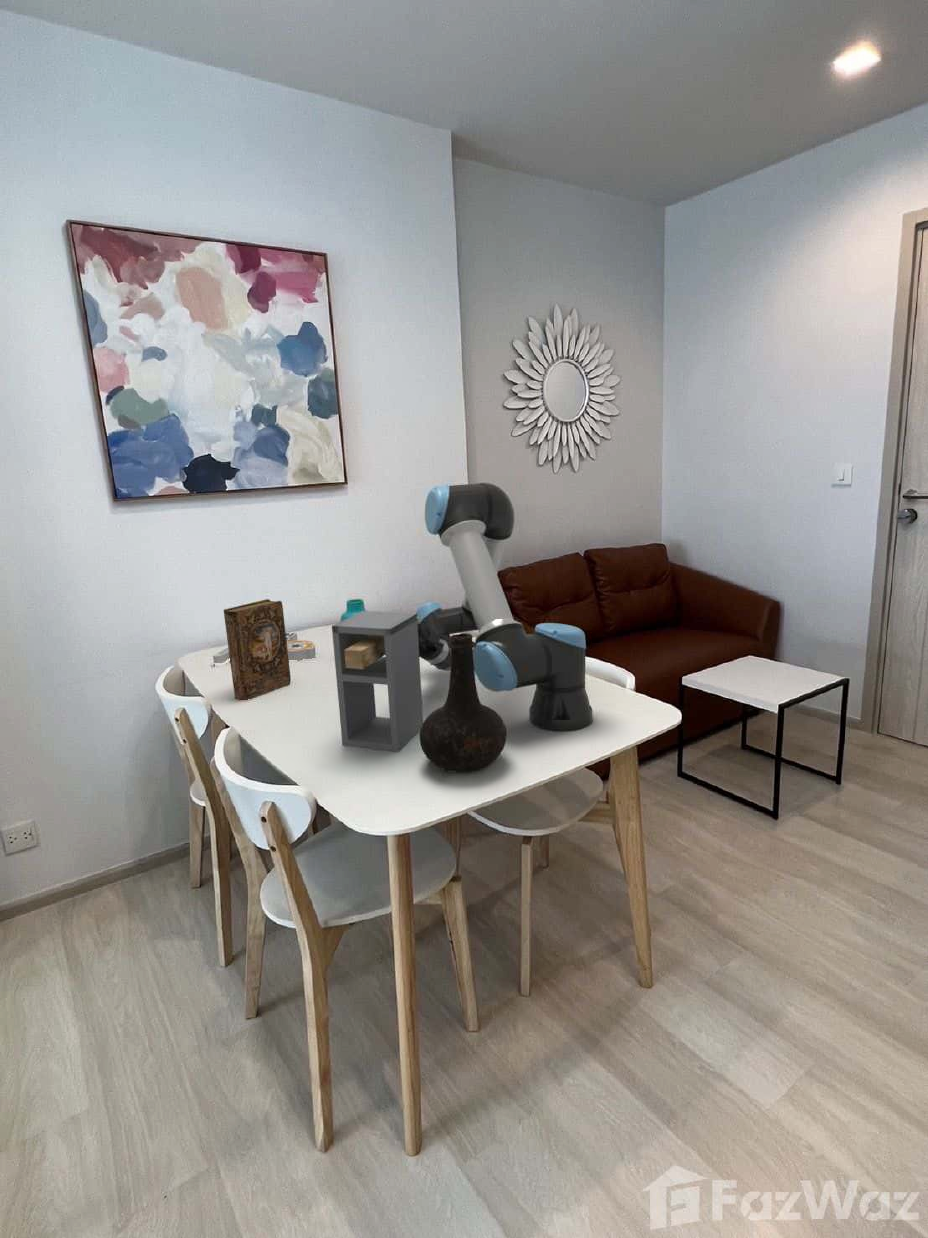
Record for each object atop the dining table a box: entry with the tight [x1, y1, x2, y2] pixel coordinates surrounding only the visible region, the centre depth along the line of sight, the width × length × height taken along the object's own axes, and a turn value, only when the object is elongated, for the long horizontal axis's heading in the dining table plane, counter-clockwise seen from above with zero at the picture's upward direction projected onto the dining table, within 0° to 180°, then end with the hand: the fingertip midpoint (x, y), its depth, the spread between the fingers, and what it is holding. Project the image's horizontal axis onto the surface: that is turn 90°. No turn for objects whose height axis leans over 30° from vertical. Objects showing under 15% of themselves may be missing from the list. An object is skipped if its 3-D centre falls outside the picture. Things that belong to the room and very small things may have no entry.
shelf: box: [331, 610, 424, 753], centre depth 153 cm, size 14×14×28 cm
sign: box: [212, 631, 317, 664], centre depth 225 cm, size 30×4×30 cm
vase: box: [340, 598, 367, 622], centre depth 215 cm, size 11×11×19 cm
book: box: [223, 598, 292, 701], centre depth 187 cm, size 16×6×25 cm, turn 145°
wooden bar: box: [344, 617, 419, 669], centre depth 155 cm, size 30×4×4 cm, turn 160°
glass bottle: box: [419, 632, 508, 774], centre depth 137 cm, size 18×18×28 cm
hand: (394, 623), depth 159 cm, fingers closed on wooden bar, 4 cm apart
